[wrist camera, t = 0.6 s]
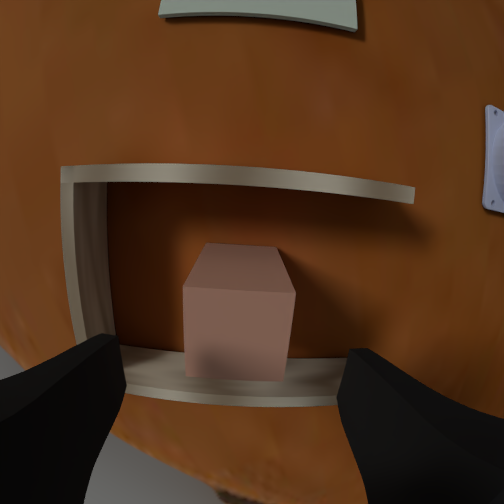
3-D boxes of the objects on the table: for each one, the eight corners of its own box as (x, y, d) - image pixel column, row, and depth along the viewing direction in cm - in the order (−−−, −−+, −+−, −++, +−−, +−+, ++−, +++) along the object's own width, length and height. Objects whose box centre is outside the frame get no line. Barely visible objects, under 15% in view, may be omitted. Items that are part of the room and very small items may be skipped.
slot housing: (381, 183, 17) (415, 187, 13) (348, 366, 20) (365, 402, 16) (96, 166, 16) (61, 166, 12) (108, 351, 19) (86, 384, 15)
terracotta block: (276, 247, 17) (296, 293, 11) (270, 310, 18) (283, 381, 12) (206, 242, 17) (182, 286, 11) (204, 306, 18) (185, 376, 12)
